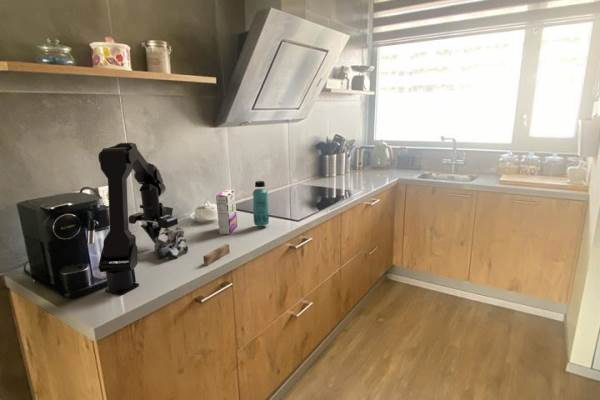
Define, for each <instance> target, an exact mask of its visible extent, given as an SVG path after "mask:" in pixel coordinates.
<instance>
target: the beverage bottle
mask: <svg viewBox="0 0 600 400" xmlns="http://www.w3.org/2000/svg"><path fill="white" fill-rule="evenodd" d="M254 183H255V184H254V187H255V188H256V189H254V190H253V191H252V199H253V200H252V201H253V204H252V207H253V209H252V211H253V212H252V213H253V224H254V225H255V226H258V227H259V226H260V227H261V226H267V225H268V224H269V223H270V221H269V220H270V219H269V217H270V216H269V215H270V214H269V201H268V200H269V199H268V197H269V195H268V193H269V191H268V190H267V189H266V188H265V187H266V184H265V181H264V180H257V181H255V182H254Z"/></svg>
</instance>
